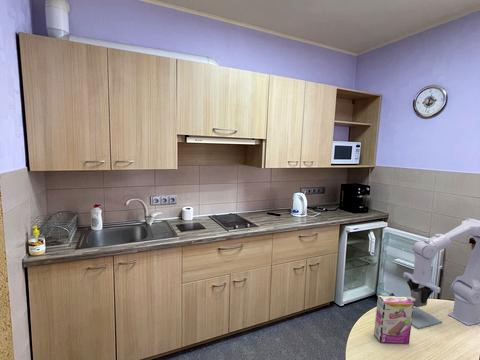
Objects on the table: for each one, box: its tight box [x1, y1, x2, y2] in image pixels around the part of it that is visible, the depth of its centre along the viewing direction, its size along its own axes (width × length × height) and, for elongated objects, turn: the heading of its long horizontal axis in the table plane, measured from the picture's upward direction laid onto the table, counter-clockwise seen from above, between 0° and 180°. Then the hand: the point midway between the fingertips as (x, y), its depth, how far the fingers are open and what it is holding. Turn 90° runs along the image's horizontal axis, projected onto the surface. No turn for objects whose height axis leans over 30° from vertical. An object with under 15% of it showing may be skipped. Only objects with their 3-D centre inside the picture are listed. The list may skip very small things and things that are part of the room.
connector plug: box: [406, 287, 428, 308], centre depth 108 cm, size 10×4×6 cm, turn 109°
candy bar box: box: [373, 295, 415, 345], centre depth 95 cm, size 11×5×16 cm, turn 89°
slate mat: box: [411, 306, 443, 331], centre depth 110 cm, size 14×11×1 cm
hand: (418, 300), depth 109 cm, fingers closed on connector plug, 4 cm apart
